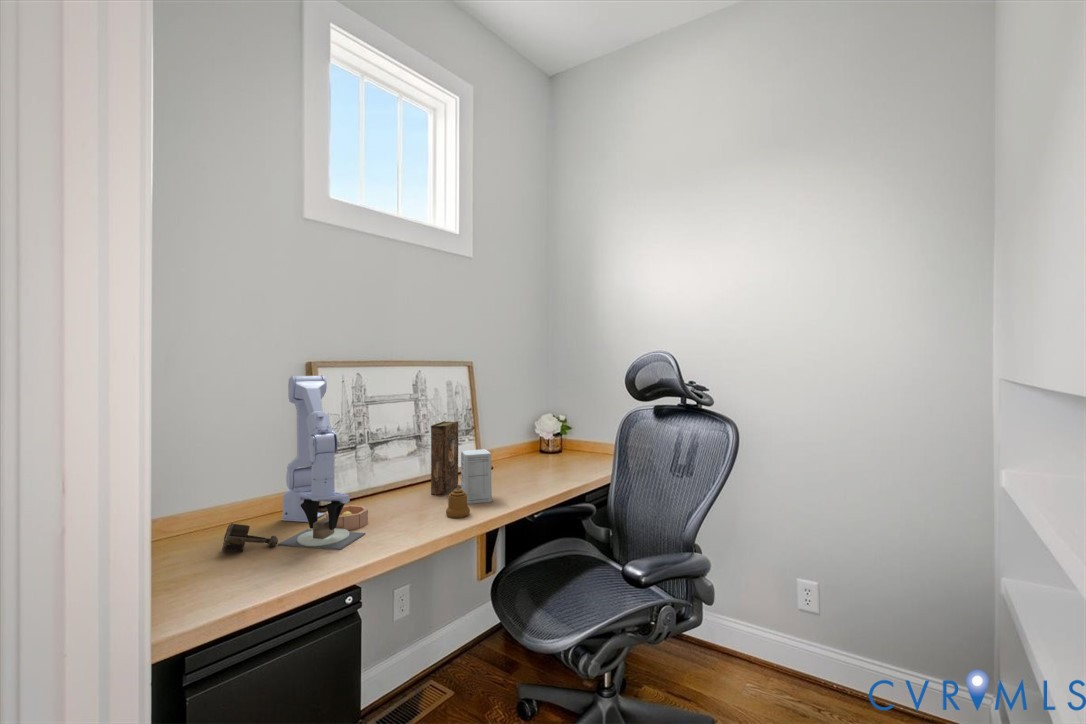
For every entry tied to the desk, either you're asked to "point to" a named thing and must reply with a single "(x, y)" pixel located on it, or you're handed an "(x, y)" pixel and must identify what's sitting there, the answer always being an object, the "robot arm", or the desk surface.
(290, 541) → the mat
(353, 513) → the bowl
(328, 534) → the lid
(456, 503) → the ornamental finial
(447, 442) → the book
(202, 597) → the desk surface
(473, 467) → the grey cabinet
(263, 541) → the dark brown handled piece
